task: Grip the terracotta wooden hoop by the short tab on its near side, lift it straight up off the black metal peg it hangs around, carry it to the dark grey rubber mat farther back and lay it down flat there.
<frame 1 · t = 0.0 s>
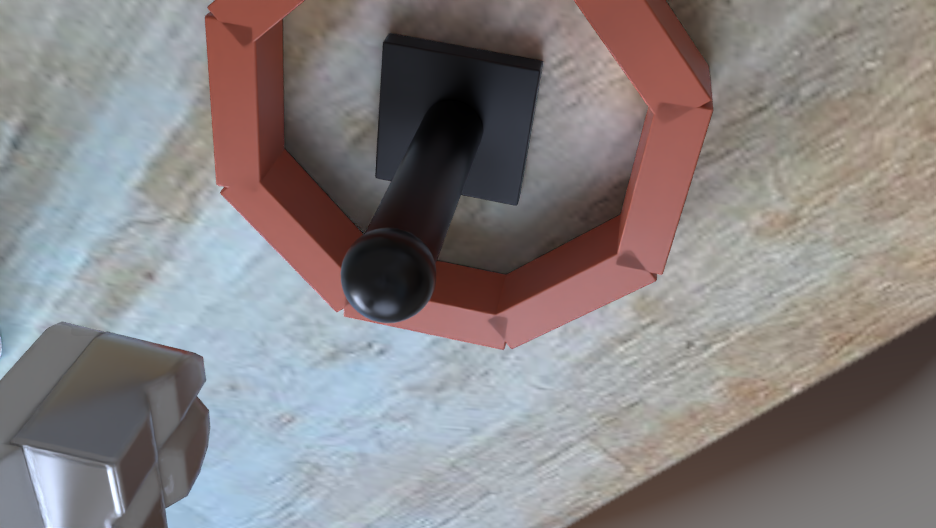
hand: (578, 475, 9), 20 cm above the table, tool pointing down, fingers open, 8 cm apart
hoop: (457, 116, 29), on the table
peg stand: (457, 116, 29), on the table
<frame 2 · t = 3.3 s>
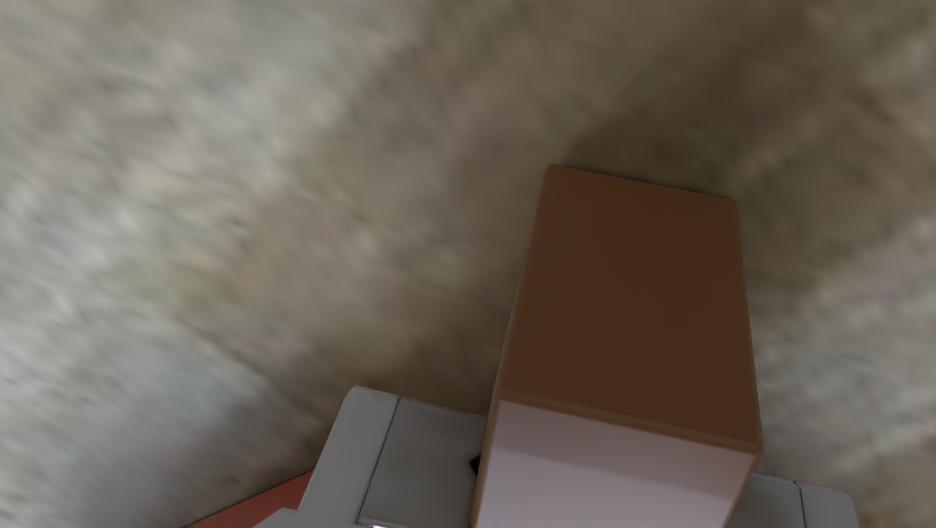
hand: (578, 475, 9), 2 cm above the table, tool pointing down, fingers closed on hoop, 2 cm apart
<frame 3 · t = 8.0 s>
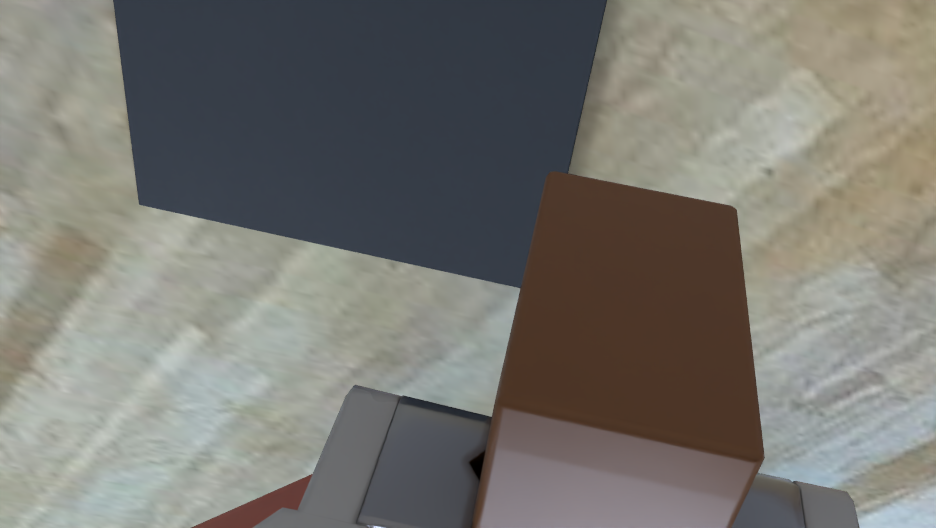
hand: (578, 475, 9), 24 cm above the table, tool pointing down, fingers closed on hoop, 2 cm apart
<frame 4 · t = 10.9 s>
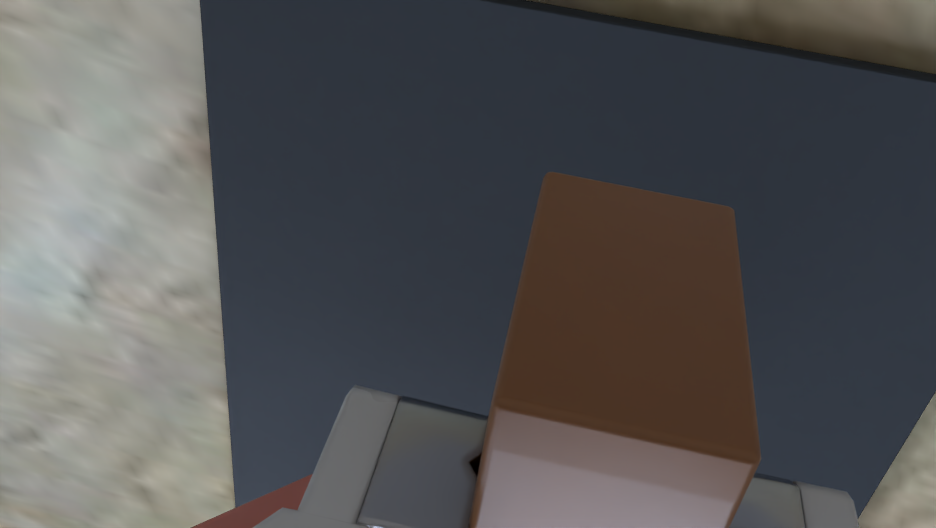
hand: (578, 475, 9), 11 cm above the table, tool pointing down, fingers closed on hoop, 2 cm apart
mat: (542, 403, 24), on the table
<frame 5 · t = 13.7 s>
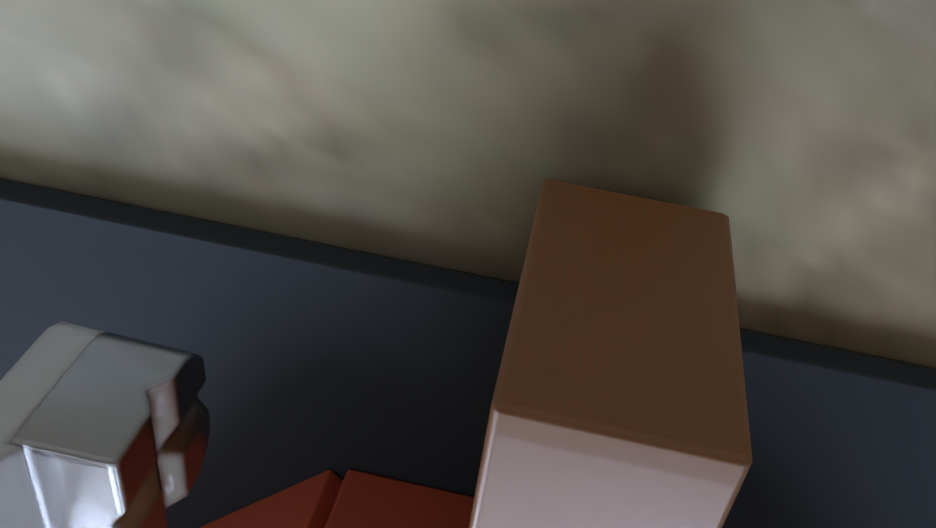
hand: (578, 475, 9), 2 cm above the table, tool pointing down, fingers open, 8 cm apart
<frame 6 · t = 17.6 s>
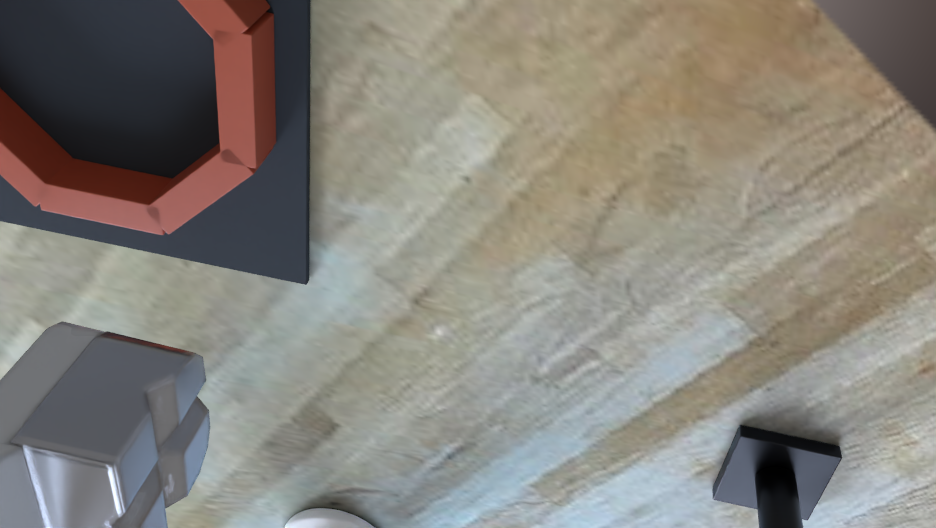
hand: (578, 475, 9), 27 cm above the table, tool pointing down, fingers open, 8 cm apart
hoop: (106, 48, 38), resting on mat
mat: (110, 40, 38), on the table
peg stand: (773, 467, 46), on the table
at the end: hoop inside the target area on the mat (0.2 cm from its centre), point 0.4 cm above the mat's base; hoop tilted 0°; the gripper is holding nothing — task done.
